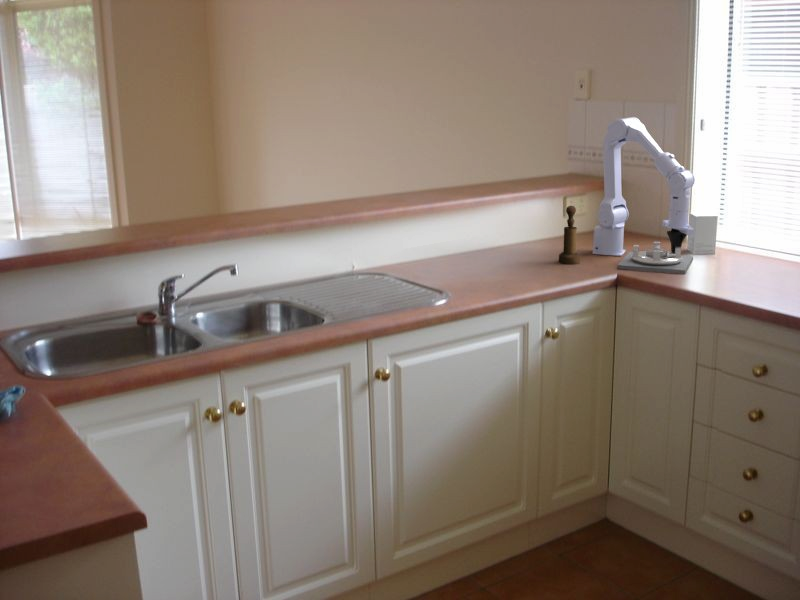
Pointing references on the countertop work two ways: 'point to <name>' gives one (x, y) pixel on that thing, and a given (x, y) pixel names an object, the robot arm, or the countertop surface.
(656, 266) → the cap plate
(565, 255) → the brown chess piece
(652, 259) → the domed lug disc
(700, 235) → the supplement box
